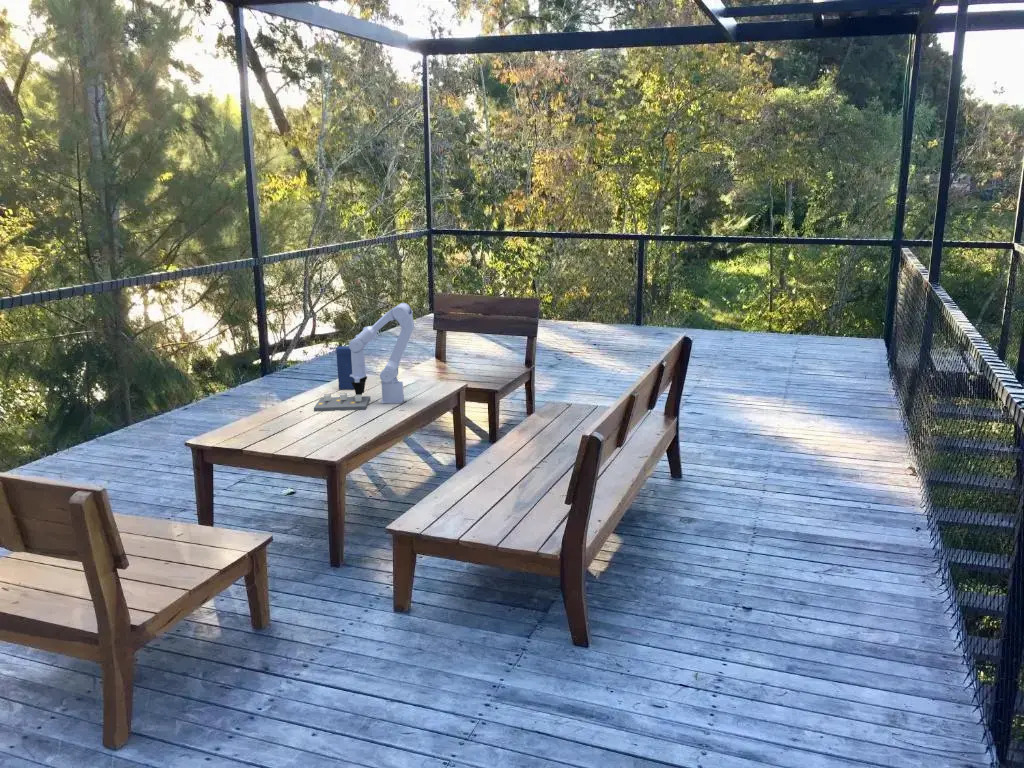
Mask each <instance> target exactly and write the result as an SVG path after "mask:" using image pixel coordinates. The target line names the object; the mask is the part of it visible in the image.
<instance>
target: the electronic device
mask: <svg viewBox="0 0 1024 768" xmlns="http://www.w3.org/2000/svg"><path fill="white" fill-rule="evenodd" d="M335 350H336V354H335V355H336V364H337V366H336V367H337V368H336V369H337V380H338V381H337V382H338V390H354V387H353V385H352V384H351V382H352V381H355V379H354V378H353V377H350V375H351V374H352V361H351V350H350V348H349V345H347V346H345V345H344V346H342V345H341V346H337V347H335Z"/></svg>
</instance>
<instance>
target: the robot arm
mask: <svg viewBox="0 0 1024 768" xmlns="http://www.w3.org/2000/svg"><path fill="white" fill-rule="evenodd" d="M413 312H414V311H413V310H412V308H411V306H410V305H409V304H408V303H406V302H401V303H399V304H398V305H395V306H394V307H393V308H391V309H390V310H388V311H386V313H384V315H382V316H381V317H380V318H379V319H378V320H377V321H376V322H375V323H374V324H373V325H371V326H370V325H368V326H364V327H363V328H362V331H361V332H359V333H358V334H356V335H355V336H354V338H353V339H351V340H350V341H349V343H348V346H349V348H350V350H351V361H352V374H351V375H350V377H353V378H354V379H355V381H352V382H351V384H352V385H353V387H354V389H353V390H354V393H355V395H356V394H362V395H363V394H364V393H365V386H366V383H367V379H368V376H367V374H366V363H365V362H366V361H365V360H366V359H365V348H366V346H367V345H368V344H370V343H371V342H372V341H373V340H374V339H376V337H377V335H378V331H380V330H381V329H382V328H383V327H384V326H385V325H386V324H387V323H389V322H390V321H391V322H392V321H397V322H398V324H399V325H400V328H401V329H400V332H399V334H398V337H397V339H396V342H395V345H394V346H393V348H392V352H391V353H390V356H389V358H388V361H387V363H386V365H385V367H384V368H383V369H382V370H381V371H380V373H379V379H380V381H381V397H382V399H381V402H380V404H402V403H404V399H405V394H404V383H403V381H399V379H398V378H397V377H398V375H399V367H400V363H401V360H402V358H403V355H404V353H405V351H406V348H407V346H408V343H409V340H410V338H411V337H412V334H413V331H414V330H415V329H414V328H415V322H414V316H413Z"/></svg>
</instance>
